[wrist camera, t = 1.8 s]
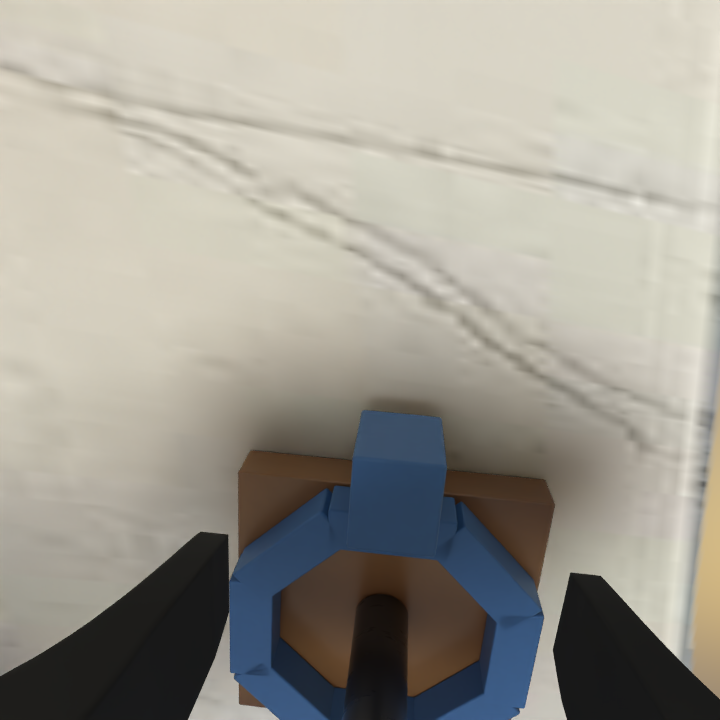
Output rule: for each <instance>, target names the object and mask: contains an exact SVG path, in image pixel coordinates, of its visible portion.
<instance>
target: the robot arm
mask: <svg viewBox="0 0 720 720" xmlns="http://www.w3.org/2000/svg"><path fill="white" fill-rule="evenodd" d="M228 613H229V555H228V535H226V534H217V533H208V532H200V533H198V534H197V535H196V536H194V537H193V538H192V539H191V540H190V541H189V542H187V543H186V544H185V545H184V546H183V547H182V548H181V549H179V550H178V551H177V552H176V553H175V554H174V555H173V556H171V557H170V558H169V559H168V560H167V561H166V562H164V563H163V564H162V565H161V566H160V567H159V568H157V569H156V570H155V571H154V572H153V573H152V574H150V575H149V576H148V577H147V578H145V579H144V580H143V581H142V582H141V583H139V584H138V585H137V586H136V587H135V588H133V589H132V590H131V591H130V592H128V593H127V594H126V595H125V596H123V597H122V598H121V599H119V600H118V601H117V602H115V603H114V604H113V605H111V606H110V607H109V608H107V609H106V610H105V611H103V612H102V613H101V614H99V615H98V616H97V617H95V618H94V619H93V620H91V621H90V622H89V623H87V624H86V625H84V626H83V627H82V628H80V629H79V630H77V631H76V632H74V633H73V634H71V635H70V636H68V637H67V638H65V639H63V640H62V641H60V642H59V643H57V644H55V645H54V646H52V647H51V648H49V649H48V650H46V651H44V652H43V653H41V654H39V655H38V656H36V657H34V658H33V659H31V660H29V661H27V662H25V663H23V664H22V665H20V666H18V667H16V668H14V669H13V670H11V671H9V672H7V673H5V674H4V675H2V676H0V720H188V718H189V716H190V713H191V711H192V709H193V707H194V704H195V702H196V700H197V698H198V695H199V693H200V691H201V689H202V686H203V684H204V682H205V679H206V677H207V675H208V673H209V670H210V668H211V666H212V663H213V661H214V659H215V656H216V653H217V649H218V646H219V643H220V640H221V637H222V634H223V630H224V627H225V623H226V620H227V617H228ZM553 653H554V659H555V666H556V672H557V678H558V683H559V689H560V694H561V700H562V703H563V707H564V710H565V714H566V717H567V720H720V699H719V698H718V697H717V696H716V695H715V694H713V692H711V691H710V690H709V689H708V688H707V687H706V686H705V685H704V684H703V683H702V682H701V681H700V680H699V679H698V678H697V677H696V676H695V675H694V674H693V673H692V672H691V671H690V670H689V669H688V668H687V667H686V666H685V665H684V664H683V663H682V662H681V661H680V660H679V659H678V658H677V657H676V656H675V655H674V654H673V653H672V652H671V651H670V650H669V649H668V648H667V647H666V646H665V645H664V644H663V643H662V642H661V641H660V640H659V639H658V638H657V637H656V635H655V634H654V633H653V632H652V631H651V630H650V629H649V628H648V627H647V626H646V625H645V624H644V623H643V621H642V620H641V619H640V618H639V617H638V616H637V615H636V614H635V613H634V612H633V611H632V609H631V608H630V607H629V606H628V605H627V604H626V603H625V602H624V601H623V599H622V598H621V597H620V596H619V595H618V594H617V593H616V592H615V591H614V590H613V588H612V587H611V586H610V585H609V584H608V583H607V582H606V581H605V580H604V579H603V578H602V577H601V576H597V575H588V574H579V573H570V577H569V581H568V586H567V590H566V595H565V599H564V603H563V608H562V612H561V616H560V621H559V625H558V630H557V634H556V638H555V643H554V647H553Z"/></svg>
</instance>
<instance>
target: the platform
mask: <svg viewBox="0 0 720 720" xmlns="http://www.w3.org/2000/svg"><path fill="white" fill-rule="evenodd" d="M351 472H352V460H343V459H333V458H323V457H313V456H303V455H293V454H284V453H274V452H264V451H254V450H251V451H250V452H249V453H248V455H247V457H246V459H245V461H244V463H243V464H242V466H241V468H240V470H239V472H238V536H239V558H240V555H241V554H242V553H243V551H244V549H245V547H247V546H248V545H249V544H251V543H252V542H254V541H255V540H256V539H258V538H259V537H260V536H262V535H263V534H264V533H266V532H267V531H268V530H270V529H271V528H273V527H274V526H275V525H277V524H278V523H279V522H281V521H282V520H283V519H285V518H286V517H288V516H289V515H290V514H292V513H293V512H294V511H296V510H297V509H298V508H300V507H301V506H302V505H304V504H305V503H307V502H308V501H309V500H311V499H312V498H313V497H315V496H316V495H317V494H319V493H320V492H321V491H323V490H324V489H326V488H327V489H329V490H330V491H331V492H332V493H333V489H334V486H346V487H351ZM443 497H452V498H454V499H455V505H456V504H458V503H459V502H461V501H462V502H463V503H464V504H465V505H466V506H467V507H468V508H469V510H470V511H471V512H472V513H473V514H474V515H475V516H476V517H477V518H478V519H479V520H480V522H481V523H482V524H483V525H484V526H485V527H486V528H487V529H488V530H489V531H490V532H491V534H492V535H493V536H494V537H495V538H496V539H497V540H498V541H499V542H500V543H501V545H502V546H503V547H504V548H505V549H506V550H507V551H508V552H509V553H510V554H511V555H512V557H513V558H514V559H515V560H516V561H517V562H518V563H519V564H520V565H521V566H522V568H523V569H524V570H525V571H526V572H527V573H528V574H529V575H530V576H531V577H532V578H533V580H534V583H535V586H536V590H538V586H539V581H540V576H541V571H542V566H543V561H544V557H545V552H546V547H547V542H548V537H549V532H550V527H551V523H552V518H553V513H554V508H555V503H554V500H553V498H552V496H551V493H550V491H549V488H548V486H547V483H546V481H545V480H542V479H532V478H522V477H512V476H502V475H492V474H482V473H472V472H462V471H452V470H447V472H446V480H445V487H444V495H443ZM487 614H488V613H487V612H486V611H485V610H484V609H483V608H482V607H481V606H480V605H479V604H478V603H477V602H476V600H475V599H474V598H473V597H472V596H471V595H470V594H469V593H468V592H467V591H466V590H465V589H464V588H463V587H462V586H461V585H460V584H459V583H458V582H457V581H456V579H455V578H454V577H453V576H452V575H451V574H450V573H449V572H448V571H447V570H446V569H445V568H444V567H443V566H442V565H441V564H440V563H439V562H438V561H437V560H430V559H421V558H412V557H403V556H394V555H384V554H375V553H366V552H357V551H348V550H339V551H338V552H336V553H335V554H333V555H332V556H330V557H329V558H327V559H326V560H324V561H323V562H322V563H320V564H319V565H317V566H316V567H314V568H313V569H311V570H310V571H309V572H307V573H306V574H304V575H303V576H301V577H300V578H298V579H297V580H296V581H294V582H293V583H291V584H290V585H288V586H287V587H285V588H284V589H282V590H281V606H280V638H282V639H283V640H284V641H285V642H286V643H287V644H288V645H289V646H290V647H291V648H292V649H293V650H294V651H296V652H297V653H298V654H299V655H300V656H301V657H302V658H303V659H304V660H305V661H306V662H307V663H308V664H309V665H311V666H312V667H313V668H314V669H315V670H316V671H317V672H318V673H319V674H320V675H321V676H322V677H323V678H325V679H326V680H327V681H328V682H329V683H330V684H331V685H332V686H333V687H336V688H345V689H346V694H345V702H344V710H343V718H342V720H407V696H410V697H416V696H418V695H419V694H421V693H423V692H425V691H426V690H428V689H430V688H432V687H434V686H435V685H437V684H439V683H441V682H442V681H444V680H446V679H448V678H449V677H451V676H453V675H455V674H456V673H458V672H460V671H462V670H463V669H465V668H467V667H469V666H470V665H472V664H474V663H476V662H477V661H479V660H480V654H481V649H482V643H483V637H484V631H485V626H486V620H487ZM239 704H240V705H248V706H256V707H264V708H266V707H265V706H264V705H263V704H262V703H261V702H260V701H258V700H257V699H256V698H255V697H254V696H253V695H252V694H251V693H249V692H248V691H247V690H246V689H245V688H244V687H243V686H242V685H240V684H239ZM509 720H511V719H509Z"/></svg>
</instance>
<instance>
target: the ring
mask: <svg viewBox="0 0 720 720" xmlns="http://www.w3.org/2000/svg"><path fill="white" fill-rule="evenodd" d="M446 472H447V463H446V454H445V444H444V435H443V426H442V419H441V418H440V417H432V416H422V415H411V414H401V413H390V412H380V411H369V410H363V411H362V413H361V418H360V423H359V428H358V433H357V438H356V443H355V448H354V453H353V458H352V472H351V487H346V486H334V489H333V493H332V492H331V491H330V490H329V489H327V488H326V489H324V490H323V491H321V492H320V493H319V494H317V495H316V496H315V497H313V498H312V499H311V500H309V501H308V502H307V503H305V504H304V505H302V506H301V507H300V508H298V509H297V510H296V511H294V512H293V513H292V514H290V515H289V516H288V517H286V518H285V519H283V520H282V521H281V522H279V523H278V524H277V525H275V526H274V527H273V528H271V529H270V530H268V531H267V532H266V533H264V534H263V535H262V536H260V537H259V538H258V539H256V540H255V541H254V542H252V543H251V544H249V545H248V546H247V547H245V549H244V551H243V553H242V554H241V555H240V558H239V560H238V562H237V565H236V567H235V569H234V572H233V574H232V576H231V579H230V581H229V602H230V672H231V673H235V676H234V679H235V680H236V681H237V682H238V683H239V684H240V685H242V686H243V687H244V688H245V689H246V690H247V691H248V692H249V693H251V694H252V695H253V696H254V697H255V698H256V699H257V700H258V701H260V702H261V703H262V704H263V705H264V706H265V707H266V708H267V709H269V710H270V711H271V712H272V713H273V714H274V715H275V716H276V717H278V718H279V719H280V720H342V718H343V710H344V702H345V694H346V689H345V688H336V687H333V686H332V685H331V684H330V683H329V682H328V681H327V680H326V679H325V678H323V677H322V676H321V675H320V674H319V673H318V672H317V671H316V670H315V669H314V668H313V667H312V666H311V665H309V664H308V663H307V662H306V661H305V660H304V659H303V658H302V657H301V656H300V655H299V654H298V653H297V652H296V651H294V650H293V649H292V648H291V647H290V646H289V645H288V644H287V643H286V642H285V641H284V640H283V639H282V638H280V606H281V590H282V589H284V588H285V587H287V586H288V585H290V584H291V583H293V582H294V581H296V580H297V579H298V578H300V577H301V576H303V575H304V574H306V573H307V572H309V571H310V570H311V569H313V568H314V567H316V566H317V565H319V564H320V563H322V562H323V561H324V560H326V559H327V558H329V557H330V556H332V555H333V554H335V553H336V552H338V551H339V550H348V551H357V552H366V553H375V554H384V555H394V556H403V557H412V558H421V559H430V560H437V561H438V562H439V563H440V564H441V565H442V566H443V567H444V568H445V569H446V570H447V571H448V572H449V573H450V574H451V575H452V576H453V577H454V578H455V579H456V581H457V582H458V583H459V584H460V585H461V586H462V587H463V588H464V589H465V590H466V591H467V592H468V593H469V594H470V595H471V596H472V597H473V598H474V599H475V600H476V602H477V603H478V604H479V605H480V606H481V607H482V608H483V609H484V610H485V611H486V612H487V613H488V614H487V620H486V626H485V631H484V637H483V643H482V649H481V654H480V660H479V661H477V662H476V663H474V664H472V665H470V666H469V667H467V668H465V669H463V670H462V671H460V672H458V673H456V674H455V675H453V676H451V677H449V678H448V679H446V680H444V681H442V682H441V683H439V684H437V685H435V686H434V687H432V688H430V689H428V690H426V691H425V692H423V693H421V694H419V695H418V696H416V697H410V696H407V720H509V719H511V718H513V717H515V716H516V715H518V714H519V713H520V711H519V708H525V704H526V699H527V695H528V690H529V685H530V681H531V676H532V671H533V667H534V662H535V657H536V653H537V648H538V643H539V639H540V634H541V630H542V625H543V620H544V615H543V612H542V608H541V604H540V600H539V597H538V593H537V590H536V586H535V583H534V580H533V578H532V577H531V576H530V575H529V574H528V573H527V572H526V571H525V570H524V569H523V568H522V566H521V565H520V564H519V563H518V562H517V561H516V560H515V559H514V558H513V557H512V555H511V554H510V553H509V552H508V551H507V550H506V549H505V548H504V547H503V546H502V545H501V543H500V542H499V541H498V540H497V539H496V538H495V537H494V536H493V535H492V534H491V532H490V531H489V530H488V529H487V528H486V527H485V526H484V525H483V524H482V523H481V522H480V520H479V519H478V518H477V517H476V516H475V515H474V514H473V513H472V512H471V511H470V510H469V508H468V507H467V506H466V505H465V504H464V503H463V502H462V501H461V502H459V503H458V504H456V505H455V499H454V498H452V497H443V495H444V487H445V480H446Z"/></svg>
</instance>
